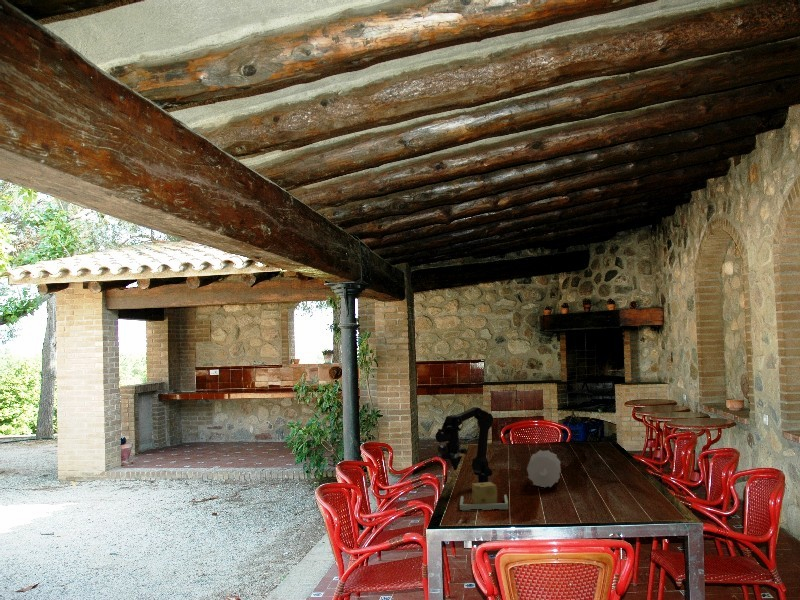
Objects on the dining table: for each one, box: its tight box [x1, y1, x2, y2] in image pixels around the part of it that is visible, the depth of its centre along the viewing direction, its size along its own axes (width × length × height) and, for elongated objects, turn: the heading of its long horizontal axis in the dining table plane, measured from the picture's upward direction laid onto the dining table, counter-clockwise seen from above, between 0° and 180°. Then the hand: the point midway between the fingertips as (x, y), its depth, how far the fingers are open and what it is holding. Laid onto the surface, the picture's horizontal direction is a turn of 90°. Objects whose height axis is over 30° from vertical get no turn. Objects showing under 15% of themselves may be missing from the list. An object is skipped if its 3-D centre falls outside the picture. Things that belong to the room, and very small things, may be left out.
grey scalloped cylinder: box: [526, 449, 562, 488], centre depth 377 cm, size 18×18×25 cm
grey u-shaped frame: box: [459, 494, 509, 511], centre depth 338 cm, size 19×22×2 cm
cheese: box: [471, 481, 498, 504], centre depth 339 cm, size 10×11×10 cm
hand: (455, 470), depth 367 cm, fingers closed
